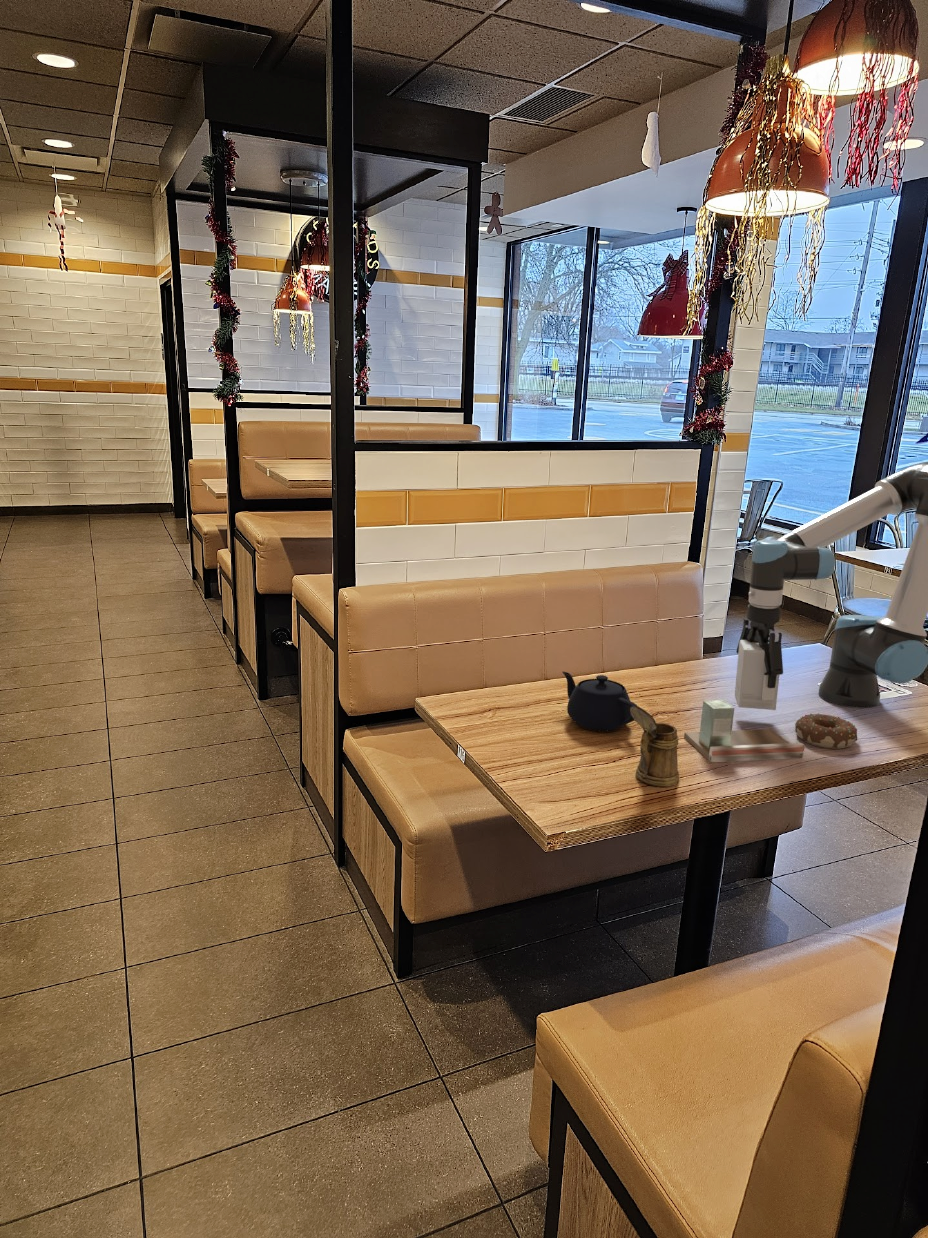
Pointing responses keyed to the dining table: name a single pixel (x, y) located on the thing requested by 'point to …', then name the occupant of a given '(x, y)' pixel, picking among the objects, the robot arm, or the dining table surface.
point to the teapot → (598, 703)
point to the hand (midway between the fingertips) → (755, 691)
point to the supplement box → (752, 677)
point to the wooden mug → (656, 751)
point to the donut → (826, 731)
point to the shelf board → (749, 746)
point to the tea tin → (716, 723)
